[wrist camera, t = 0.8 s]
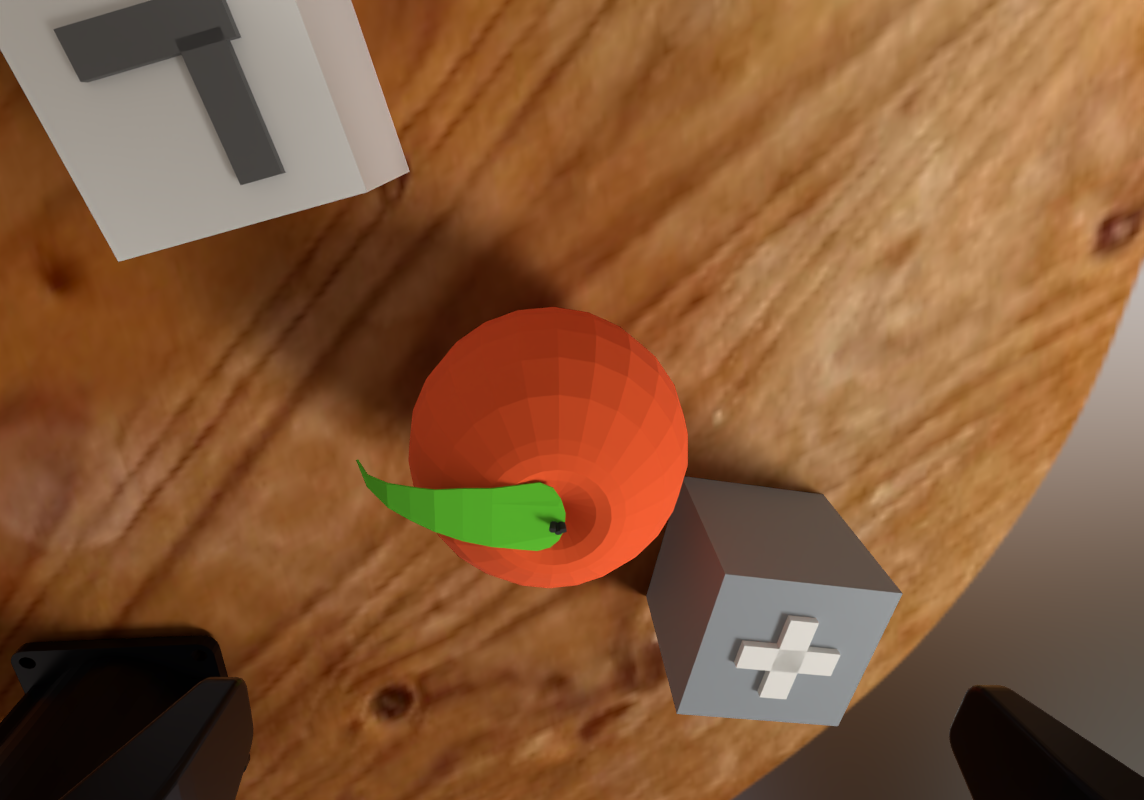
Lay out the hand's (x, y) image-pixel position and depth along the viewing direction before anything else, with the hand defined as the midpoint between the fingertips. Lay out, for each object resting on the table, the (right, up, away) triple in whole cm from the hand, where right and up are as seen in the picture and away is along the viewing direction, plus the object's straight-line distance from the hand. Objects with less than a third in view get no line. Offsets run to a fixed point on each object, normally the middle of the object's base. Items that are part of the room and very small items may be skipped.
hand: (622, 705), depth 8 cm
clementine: (-2, +4, +12) cm, 12 cm away
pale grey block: (-8, +11, +8) cm, 16 cm away
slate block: (+5, -1, +14) cm, 15 cm away
